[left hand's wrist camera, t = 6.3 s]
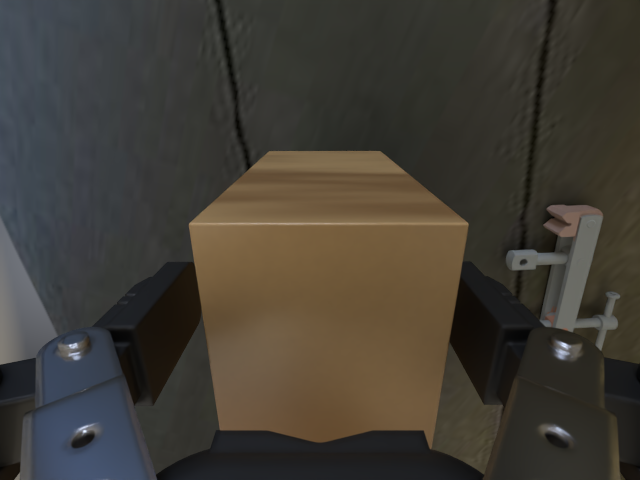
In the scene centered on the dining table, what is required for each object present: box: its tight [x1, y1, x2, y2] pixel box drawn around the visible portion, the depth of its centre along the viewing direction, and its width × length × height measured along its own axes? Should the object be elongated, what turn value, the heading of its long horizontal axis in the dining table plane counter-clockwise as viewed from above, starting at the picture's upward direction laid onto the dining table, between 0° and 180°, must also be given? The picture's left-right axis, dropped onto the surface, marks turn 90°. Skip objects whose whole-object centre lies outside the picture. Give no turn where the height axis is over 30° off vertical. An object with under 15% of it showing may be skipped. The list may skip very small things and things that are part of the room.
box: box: [189, 151, 469, 449], centre depth 17 cm, size 24×6×12 cm, turn 0°
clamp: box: [506, 205, 620, 350], centre depth 29 cm, size 15×2×10 cm
